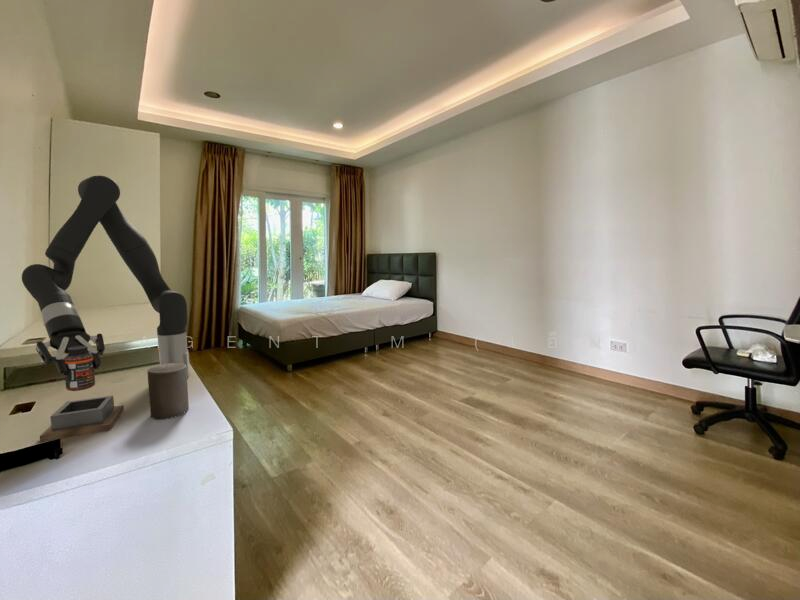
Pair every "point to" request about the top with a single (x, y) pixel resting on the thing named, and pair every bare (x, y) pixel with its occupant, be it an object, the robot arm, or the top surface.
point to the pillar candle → (168, 390)
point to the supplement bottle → (79, 369)
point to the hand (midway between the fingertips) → (81, 370)
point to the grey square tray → (82, 413)
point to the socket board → (83, 427)
